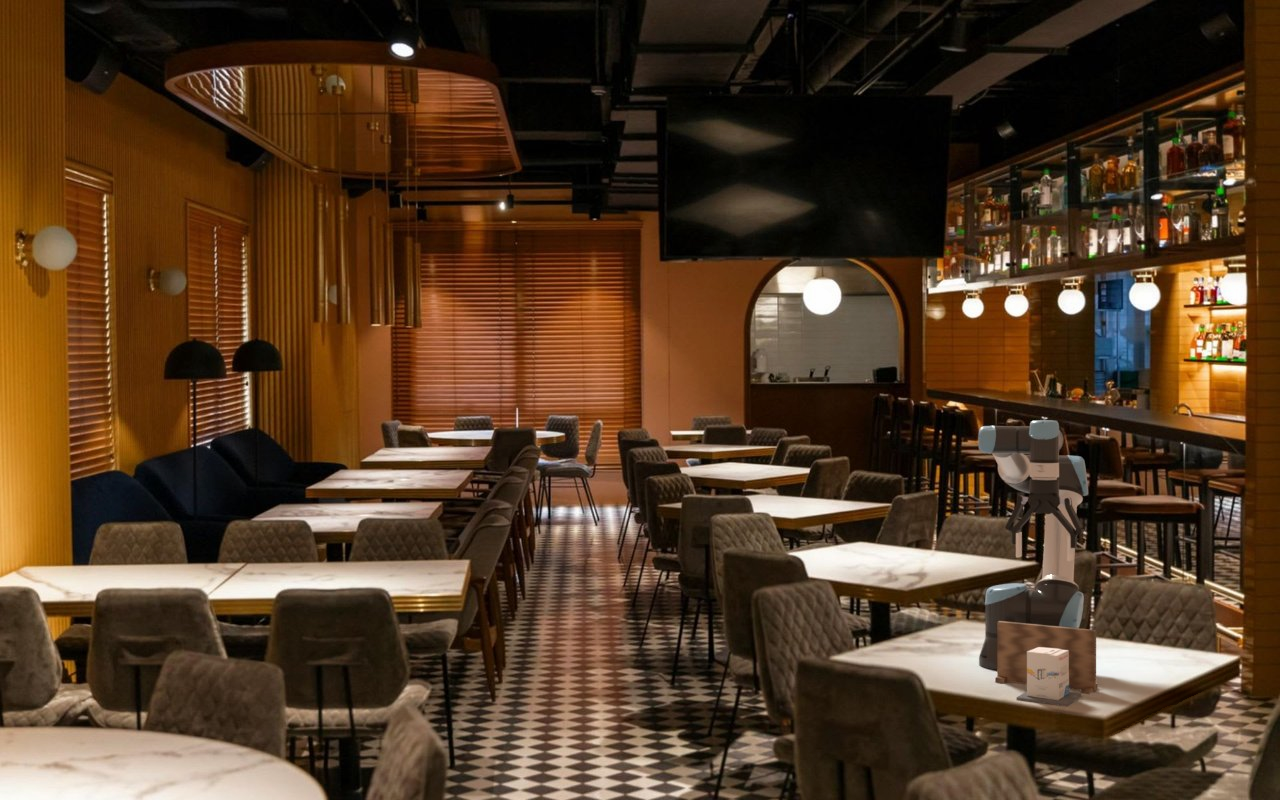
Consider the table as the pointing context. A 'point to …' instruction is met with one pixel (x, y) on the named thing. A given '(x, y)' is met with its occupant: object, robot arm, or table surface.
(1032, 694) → the ink box
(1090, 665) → the walnut screen
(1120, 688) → the table surface
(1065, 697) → the rubber mat
